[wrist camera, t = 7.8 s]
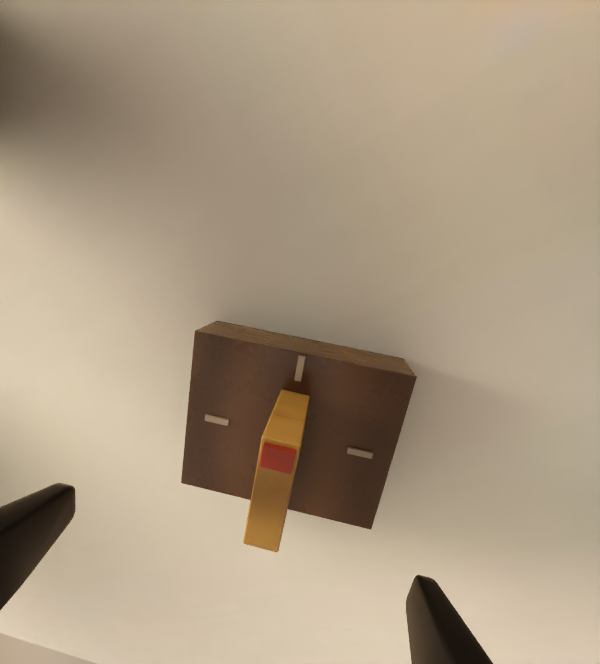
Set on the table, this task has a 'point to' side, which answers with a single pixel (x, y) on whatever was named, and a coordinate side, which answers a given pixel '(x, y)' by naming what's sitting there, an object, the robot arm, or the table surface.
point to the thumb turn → (276, 471)
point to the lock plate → (320, 426)
